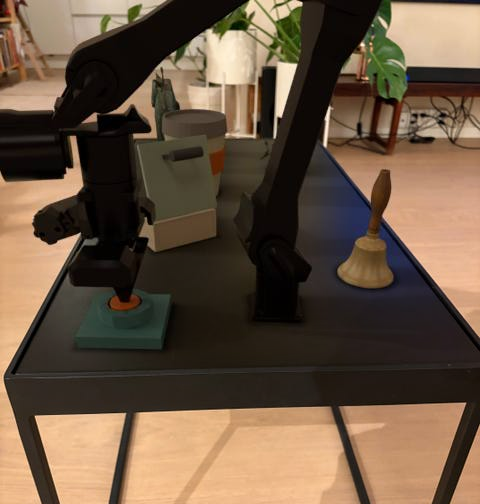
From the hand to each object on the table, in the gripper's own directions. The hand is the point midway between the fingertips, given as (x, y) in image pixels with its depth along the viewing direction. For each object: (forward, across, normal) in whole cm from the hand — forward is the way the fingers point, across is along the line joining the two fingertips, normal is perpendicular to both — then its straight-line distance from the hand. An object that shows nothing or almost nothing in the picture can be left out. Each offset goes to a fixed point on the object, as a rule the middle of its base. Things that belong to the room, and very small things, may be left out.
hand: (125, 300), depth 63 cm
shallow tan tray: (+4, -28, +2) cm, 29 cm away
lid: (-7, -26, +4) cm, 27 cm away
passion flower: (+4, -64, +24) cm, 69 cm away
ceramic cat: (+4, -71, -3) cm, 71 cm away
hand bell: (+4, -14, +33) cm, 36 cm away
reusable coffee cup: (+4, -48, +5) cm, 49 cm away
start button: (+2, 0, 0) cm, 2 cm away
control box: (+4, 0, 0) cm, 4 cm away
